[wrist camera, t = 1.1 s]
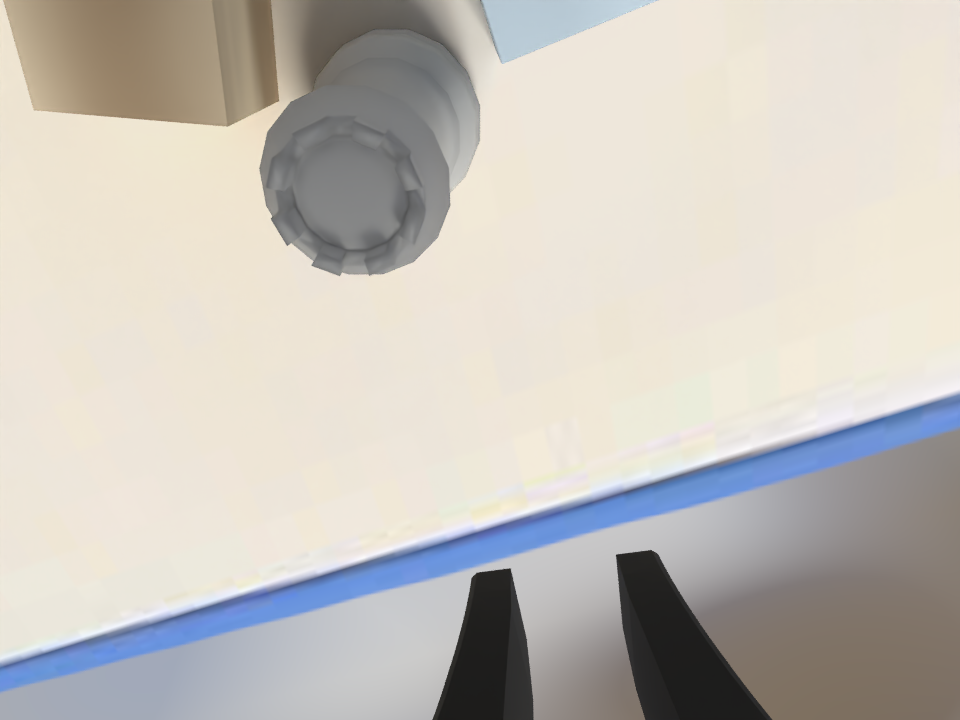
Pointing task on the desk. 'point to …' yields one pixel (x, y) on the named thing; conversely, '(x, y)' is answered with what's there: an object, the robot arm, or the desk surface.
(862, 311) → the desk surface
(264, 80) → the beech block
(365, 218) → the rook chess piece
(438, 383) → the desk surface
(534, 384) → the desk surface
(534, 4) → the pale blue block
